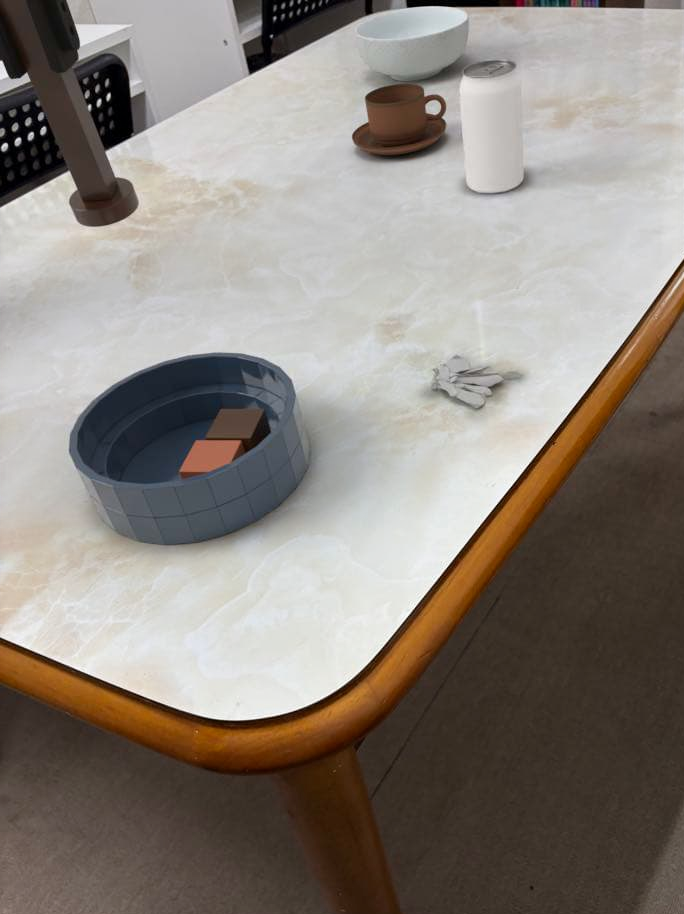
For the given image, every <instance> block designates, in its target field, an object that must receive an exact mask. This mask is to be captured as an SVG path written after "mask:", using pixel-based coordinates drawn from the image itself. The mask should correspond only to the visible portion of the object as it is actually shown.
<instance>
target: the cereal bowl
mask: <svg viewBox="0 0 684 914" xmlns="http://www.w3.org/2000/svg"><path fill="white" fill-rule="evenodd" d="M469 19H470V18H469V14H468V13H467V12H466V11H465V10H463V9H460V8H455V7H450V6H439V5H437V6H434V5H431V6H430V5H429V6H415V7H408V8H402V9H401V8H400V9H396V10H395V9H394V10H391V11H387V12H384V13H380V14H377V15H375V16H372V17H369V18H367V19H365V20H364V21H362V22H360V23H359V24H358V25H356V27H355V29H354V38H355V44H356V48H357V51H358V54H359V57H360V58H361V59H362V61H363V62H364V64H365V65H366V66H367V67H368V68H370V70H373V71H374V72H376V73H378V74H382V75H386V76H389V77H390V78H391V79H392V80H394V81H399V82H414V81H420V80H425V79H429V78H432V77H435V76H436V75H438V74H440V73H441V72H442V70H443V69H444V68H447V67H449V66H450V65H453V63H455V62H456V61H457V60H458V59H459V58H460V57H461V56H462V54H463V53H464V51H465V49H466V47H467V43H468V41H469V40H468V39H469V32H470V20H469Z"/></svg>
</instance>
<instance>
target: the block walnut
mask: <svg viewBox="0 0 684 914" xmlns="http://www.w3.org/2000/svg"><path fill="white" fill-rule="evenodd" d="M270 433H271V429H270V425H269V422H268V418H267V415H266V411H265V409H221V410H220V411H219V413H218V415H217V417H216V419H215V420H214V422H213V424H212V426H211V428H210V429H209V431H208V433H207V435H206V437H205V439H206V440H241V441H242V444H243V447H244V450H245V453H247V452H249V451H250V450H252V449H253V448H255V447H257V446H258V445H259V444H260V443H261V442H262V441H263V440H264V439H265V438H266V437H267V436H268V435H269V434H270Z"/></svg>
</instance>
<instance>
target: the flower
mask: <svg viewBox="0 0 684 914" xmlns="http://www.w3.org/2000/svg"><path fill="white" fill-rule="evenodd" d="M489 368H491V366H490V365H487V366H483V367H479V368H475V369H471V370H470V362H469V361H468V360H467V359H466V358H465V357H462V356H460V355H458V354H454V355H453V356H452V357H451V358H450V359H449V360H448V361H447V362H445V363H444V364H442V363H441V361H439V360H438V361H437V364H436V366H435V367H434V368H431V371H432V372H433V373H432V374H433V376H432V378H431V380H430V386H431V388H430V390H435V389H436V387H437V388H438V389H442V390H444V391H446V392H447V393H448V395H449V396H450V397H452V398H457V399H458V400H461V401H463V402H464V403H466V404H468V405H470V406H471V407H474V408H475V409H478V408H480V407H482V406H484V403H485V399H484V398H483V397H482V396H481V395H480V394H479V393H483V394H484V397H489V396H492V394H493V393H492V391H491V389H490V388H489V387H492V386H494V385H496V384H499V383H500V382H502V381H503V380H506V381H507V380H508V381H509V380H513V379H518V378H521V377H522V376H524V374H523V373H522V372H519V371H507V372H505V373H502V374H500V371H494V370H491V371H485V370H487V369H489ZM469 370H470V371H469ZM465 371H467V372H465ZM483 371H485V372H483ZM459 372H465V373H459ZM480 372H481V373H480ZM473 384H475V385H473ZM468 390H470V391H468Z"/></svg>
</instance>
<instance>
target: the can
mask: <svg viewBox="0 0 684 914" xmlns="http://www.w3.org/2000/svg"><path fill="white" fill-rule="evenodd" d="M461 74H462V78H461V81H460V84H459V105H460V106H459V107H460V117H461V118H460V119H461V131H462V143H463V144H462V147H463V157H464V158H463V159H464V171H465V172H464V173H465V180H466V181H465V182H466V187H468V188H469V189H470V190H471V191H473V192H474V193H476V194H483V195H495V194H496V195H497V194H503V193H506V192H509V191H512V190H514V189H517V188H518V187H519V186H520V185H521V183H522V182H523V181H524V177H525V176H524V174H525V173H524V135H523V132H524V131H523V104H522V102H523V101H522V82H521V81H522V80H521V77H520V75H519V73H518V71H517V64H516V62H515V61H513V60H510V59H506V58H505V59H504V58H495V59H494V58H492V59H484V60H480V61H475V62H473V63H470V64H467V65H466V66H465V67H463V68H462V70H461Z"/></svg>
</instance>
